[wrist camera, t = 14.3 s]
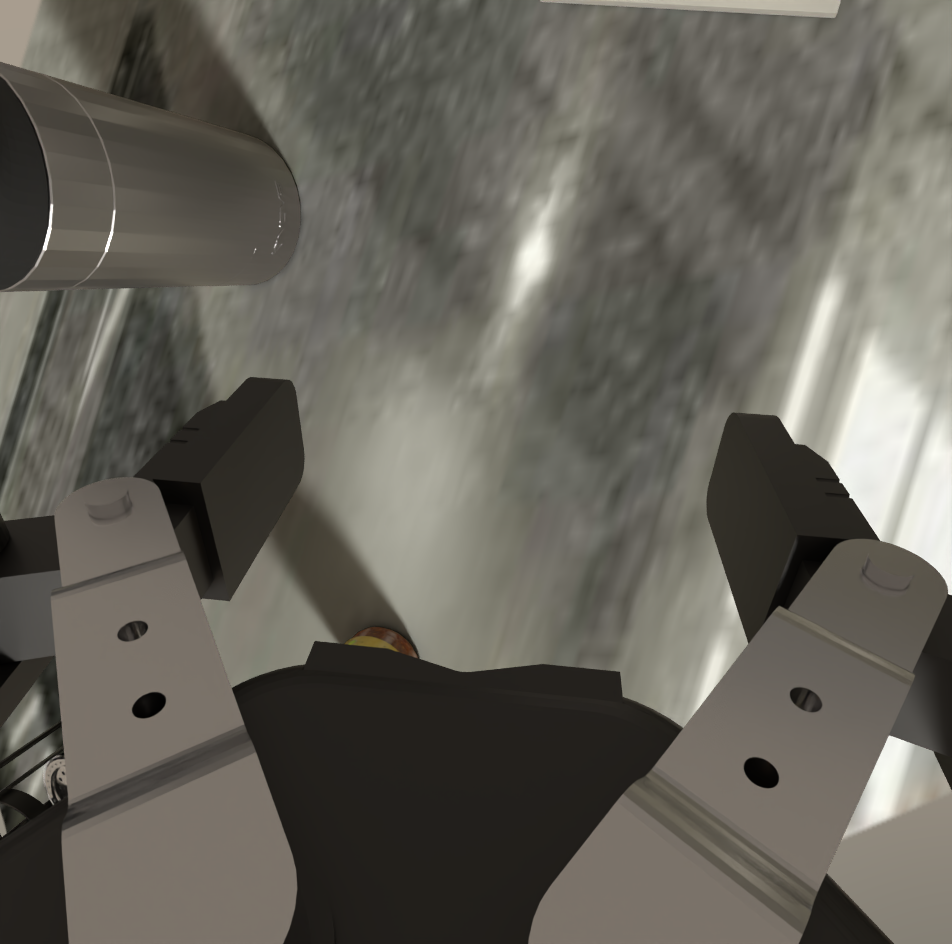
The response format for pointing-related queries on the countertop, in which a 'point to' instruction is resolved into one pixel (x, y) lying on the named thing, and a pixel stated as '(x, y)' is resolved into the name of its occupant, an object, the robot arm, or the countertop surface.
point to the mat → (730, 6)
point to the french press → (51, 776)
